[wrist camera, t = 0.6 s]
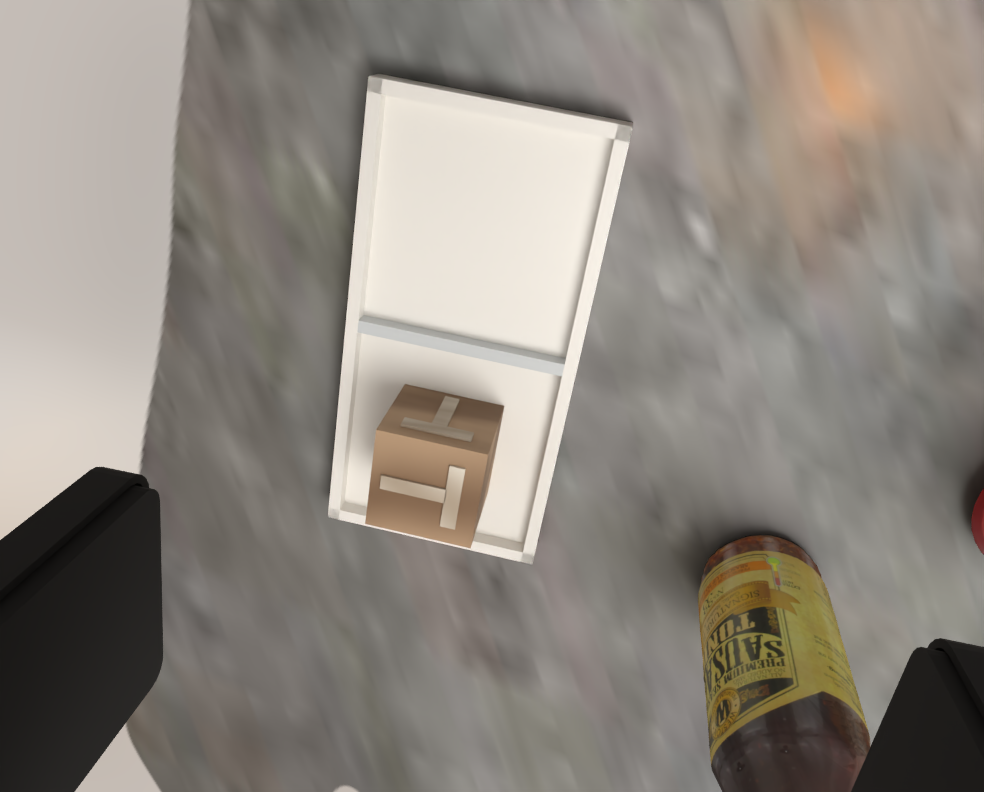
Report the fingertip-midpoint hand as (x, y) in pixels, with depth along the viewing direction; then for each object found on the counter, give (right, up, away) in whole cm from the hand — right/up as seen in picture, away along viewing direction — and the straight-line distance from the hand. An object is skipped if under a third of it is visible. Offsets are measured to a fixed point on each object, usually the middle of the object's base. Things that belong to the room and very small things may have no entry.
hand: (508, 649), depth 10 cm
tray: (-1, +6, +29) cm, 30 cm away
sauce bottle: (+14, -6, +33) cm, 36 cm away
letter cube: (-2, +1, +31) cm, 31 cm away
